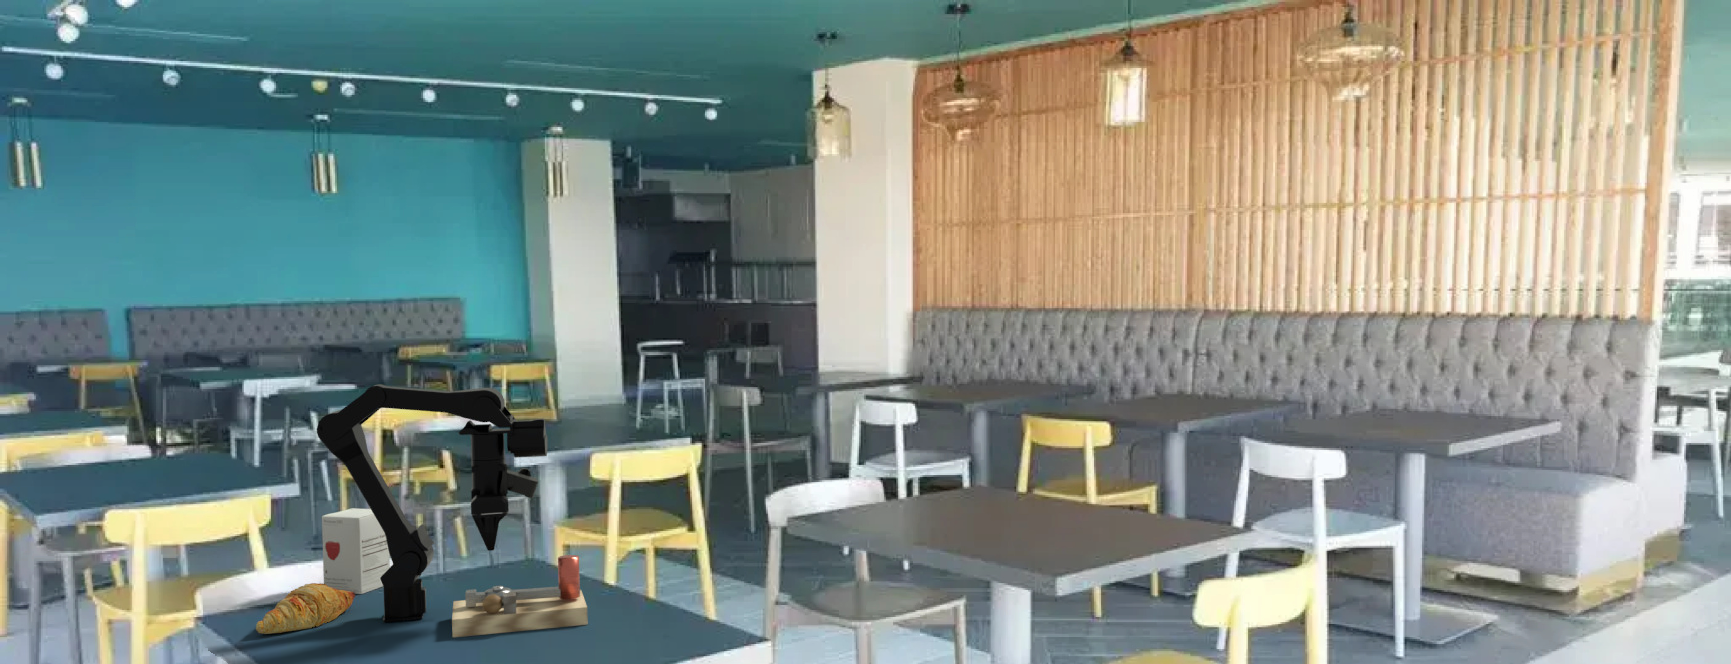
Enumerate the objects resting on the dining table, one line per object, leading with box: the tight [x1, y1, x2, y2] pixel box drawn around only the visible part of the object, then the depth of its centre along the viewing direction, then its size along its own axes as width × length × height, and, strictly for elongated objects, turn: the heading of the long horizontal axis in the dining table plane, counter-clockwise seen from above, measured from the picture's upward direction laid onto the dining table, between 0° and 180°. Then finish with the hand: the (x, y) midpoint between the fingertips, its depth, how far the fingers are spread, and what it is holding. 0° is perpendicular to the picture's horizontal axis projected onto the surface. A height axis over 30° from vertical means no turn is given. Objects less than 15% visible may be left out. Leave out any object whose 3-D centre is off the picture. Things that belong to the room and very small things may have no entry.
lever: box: [465, 554, 581, 607], centre depth 213 cm, size 19×4×7 cm, turn 103°
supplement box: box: [321, 507, 391, 595], centre depth 240 cm, size 9×9×15 cm
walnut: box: [483, 594, 502, 614], centre depth 207 cm, size 3×3×3 cm
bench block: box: [451, 589, 589, 638], centre depth 213 cm, size 22×13×6 cm, turn 108°
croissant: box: [255, 582, 356, 635], centre depth 215 cm, size 21×10×8 cm, turn 160°
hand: (490, 545), depth 219 cm, fingers open, 9 cm apart
